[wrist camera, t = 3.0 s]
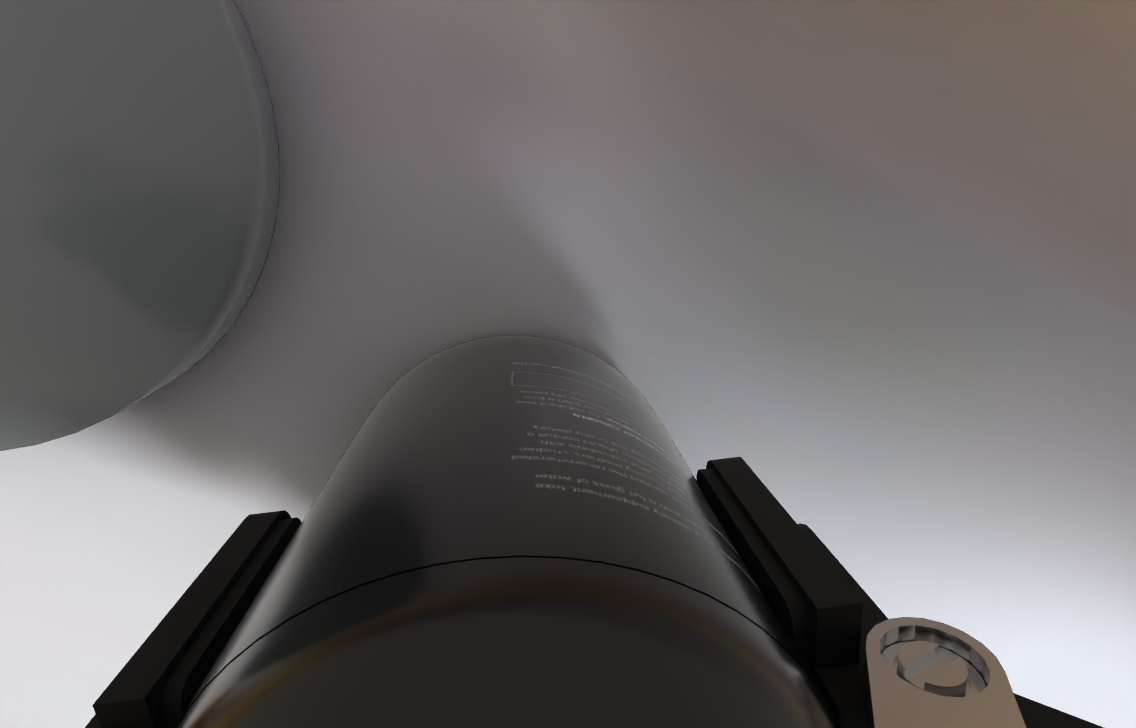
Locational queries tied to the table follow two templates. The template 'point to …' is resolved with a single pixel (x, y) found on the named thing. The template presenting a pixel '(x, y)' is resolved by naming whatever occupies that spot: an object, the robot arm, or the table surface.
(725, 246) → the table surface
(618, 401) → the supplement bottle
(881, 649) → the robot arm
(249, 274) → the slate plate
